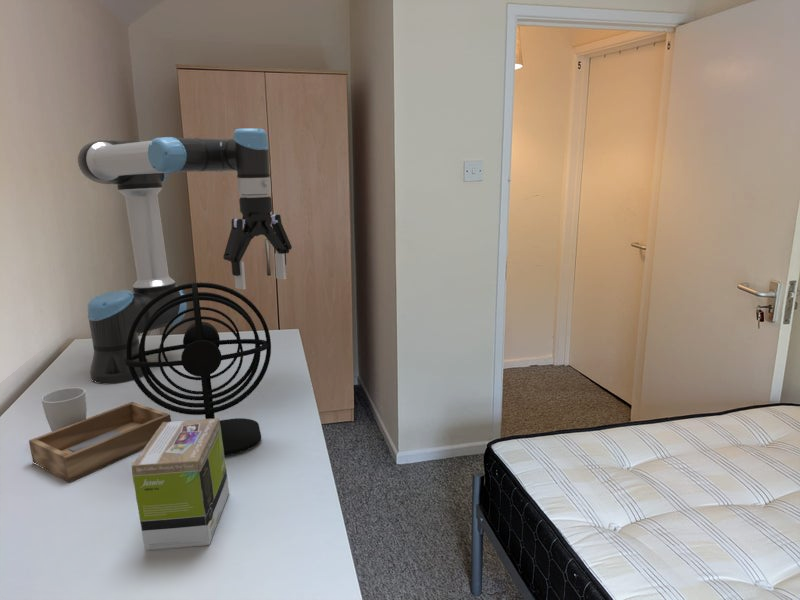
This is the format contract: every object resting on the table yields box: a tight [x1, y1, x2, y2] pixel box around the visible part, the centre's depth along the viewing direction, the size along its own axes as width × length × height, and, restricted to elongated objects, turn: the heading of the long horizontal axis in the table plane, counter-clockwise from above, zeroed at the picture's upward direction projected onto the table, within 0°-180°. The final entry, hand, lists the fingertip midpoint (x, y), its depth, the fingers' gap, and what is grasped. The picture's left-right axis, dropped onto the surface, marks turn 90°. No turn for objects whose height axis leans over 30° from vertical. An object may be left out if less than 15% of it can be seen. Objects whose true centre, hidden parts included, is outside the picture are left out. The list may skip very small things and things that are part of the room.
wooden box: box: [28, 401, 172, 483], centre depth 119 cm, size 14×22×5 cm, turn 147°
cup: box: [41, 387, 88, 432], centre depth 124 cm, size 8×8×10 cm
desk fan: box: [125, 282, 272, 456], centre depth 116 cm, size 27×18×35 cm, turn 109°
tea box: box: [131, 417, 230, 551], centre depth 92 cm, size 15×10×15 cm, turn 5°
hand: (261, 283), depth 141 cm, fingers open, 13 cm apart
